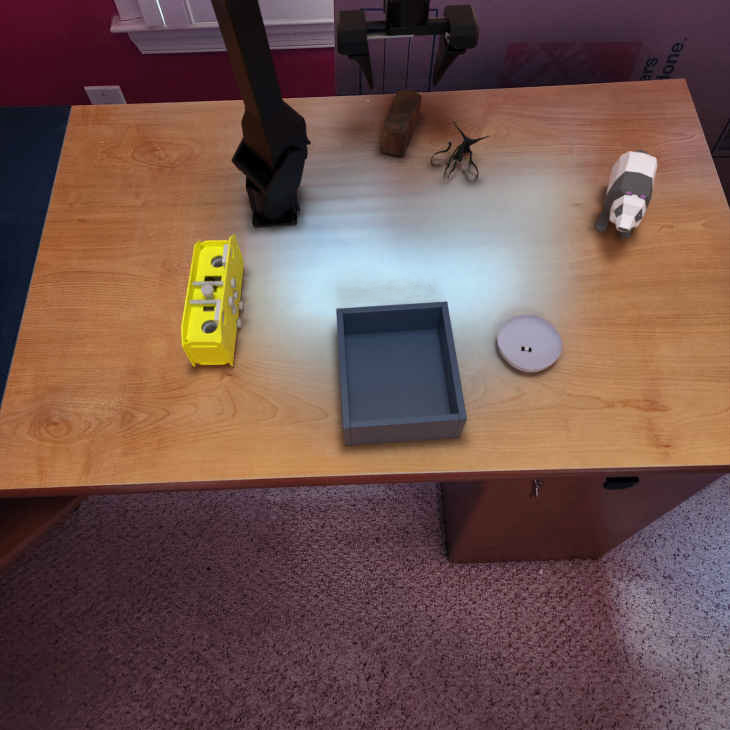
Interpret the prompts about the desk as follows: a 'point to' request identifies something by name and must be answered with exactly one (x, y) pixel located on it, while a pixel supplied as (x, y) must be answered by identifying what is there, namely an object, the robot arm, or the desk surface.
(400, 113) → the brick
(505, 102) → the desk surface
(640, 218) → the giant panda
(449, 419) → the bin
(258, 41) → the robot arm
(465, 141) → the creature
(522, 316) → the pale lavender disc
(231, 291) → the yellow toy chassis
